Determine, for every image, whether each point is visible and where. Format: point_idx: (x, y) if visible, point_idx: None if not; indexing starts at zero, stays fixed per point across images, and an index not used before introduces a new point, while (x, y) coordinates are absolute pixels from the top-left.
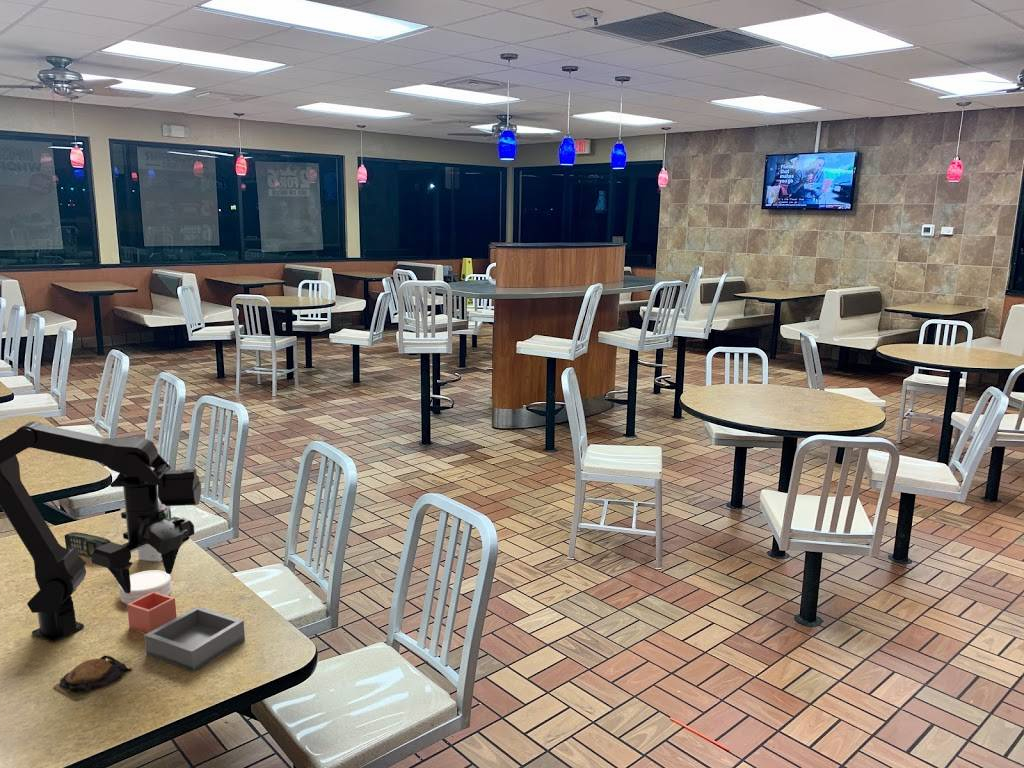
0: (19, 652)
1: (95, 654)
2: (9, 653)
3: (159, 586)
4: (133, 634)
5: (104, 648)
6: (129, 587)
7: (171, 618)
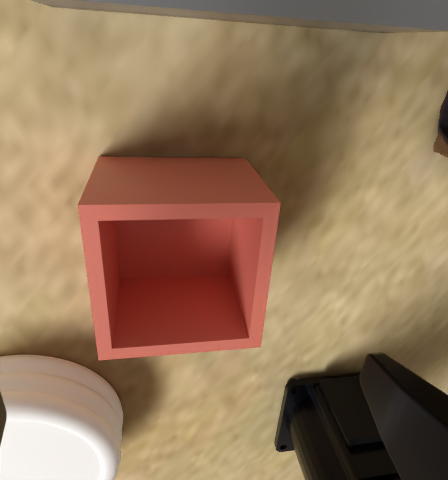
0: None
1: (410, 224)
2: None
3: None
4: None
5: (371, 232)
6: (410, 382)
7: (128, 164)
